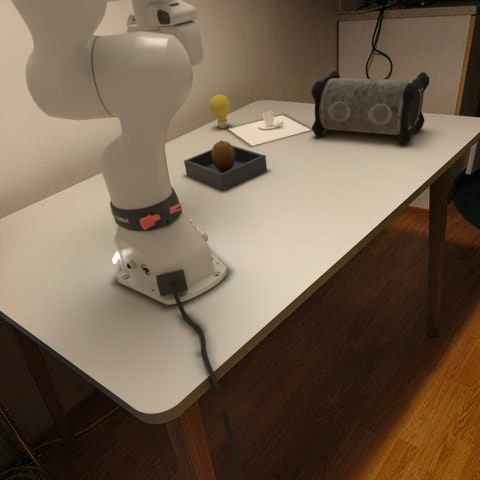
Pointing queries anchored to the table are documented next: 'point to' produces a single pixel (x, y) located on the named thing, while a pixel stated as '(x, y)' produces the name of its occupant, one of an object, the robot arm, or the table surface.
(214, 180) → the tub
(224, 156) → the fruit
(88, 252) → the table surface
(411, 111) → the speaker
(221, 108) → the light bulb
